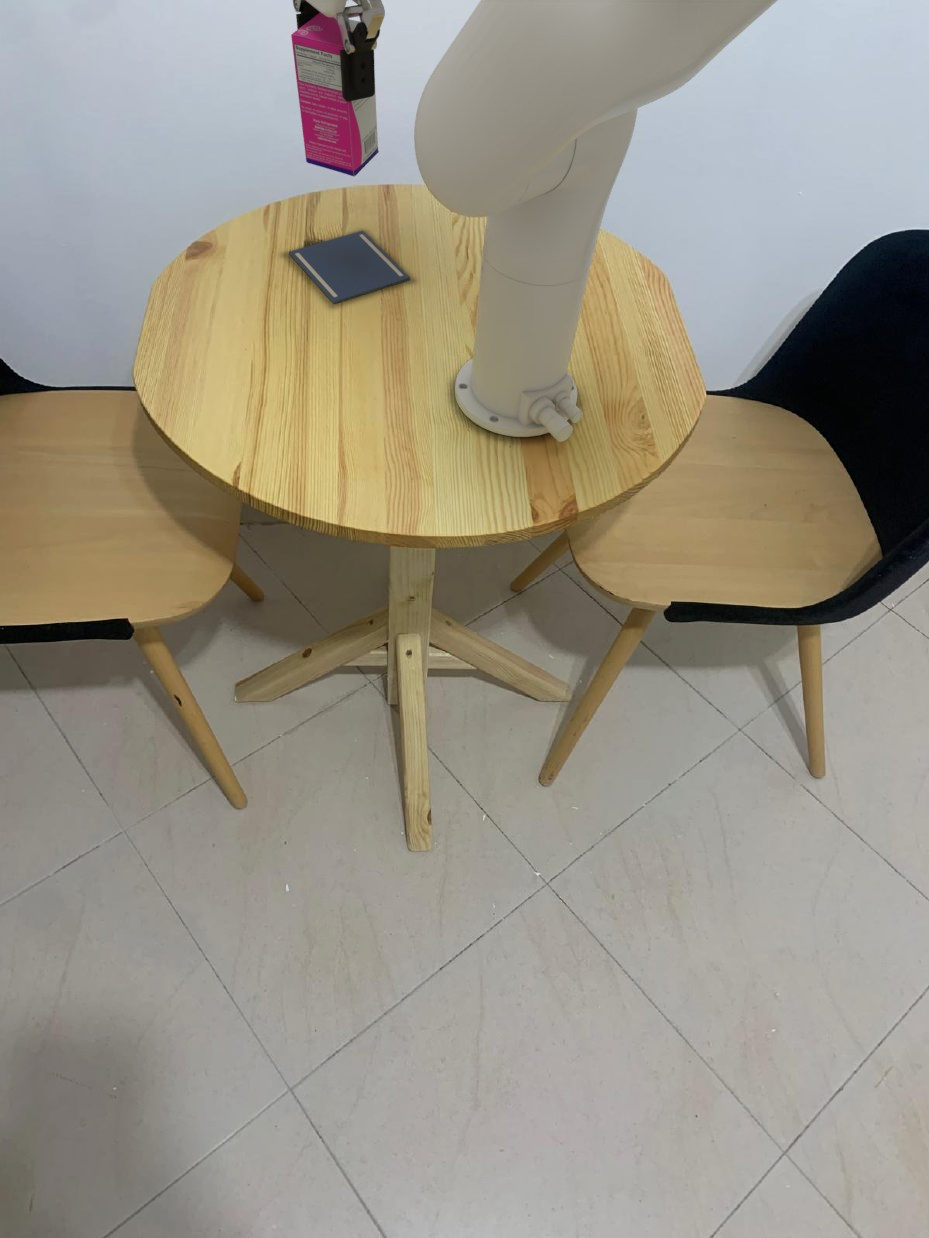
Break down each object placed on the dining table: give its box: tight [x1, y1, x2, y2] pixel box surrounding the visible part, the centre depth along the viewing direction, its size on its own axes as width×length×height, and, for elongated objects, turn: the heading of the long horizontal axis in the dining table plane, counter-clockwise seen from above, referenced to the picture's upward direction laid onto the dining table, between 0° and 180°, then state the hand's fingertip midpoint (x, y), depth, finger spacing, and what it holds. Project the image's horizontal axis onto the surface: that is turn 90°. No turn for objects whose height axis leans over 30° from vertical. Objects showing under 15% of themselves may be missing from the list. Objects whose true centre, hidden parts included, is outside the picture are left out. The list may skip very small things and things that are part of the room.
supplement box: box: [290, 13, 380, 177], centre depth 76 cm, size 6×6×12 cm
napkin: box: [288, 230, 411, 305], centre depth 90 cm, size 11×10×1 cm
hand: (337, 78), depth 74 cm, fingers closed on supplement box, 7 cm apart
